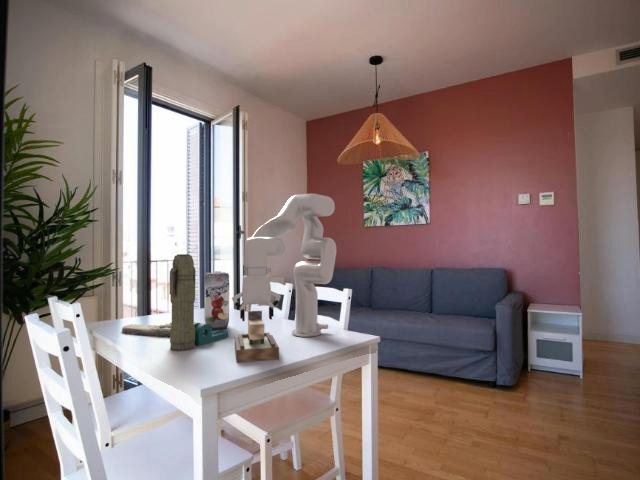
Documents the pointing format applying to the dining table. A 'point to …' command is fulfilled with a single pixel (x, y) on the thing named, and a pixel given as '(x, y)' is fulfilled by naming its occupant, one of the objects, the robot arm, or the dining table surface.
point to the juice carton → (217, 300)
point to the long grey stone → (148, 329)
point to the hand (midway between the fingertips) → (257, 319)
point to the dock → (255, 348)
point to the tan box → (255, 326)
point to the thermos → (182, 303)
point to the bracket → (207, 334)
